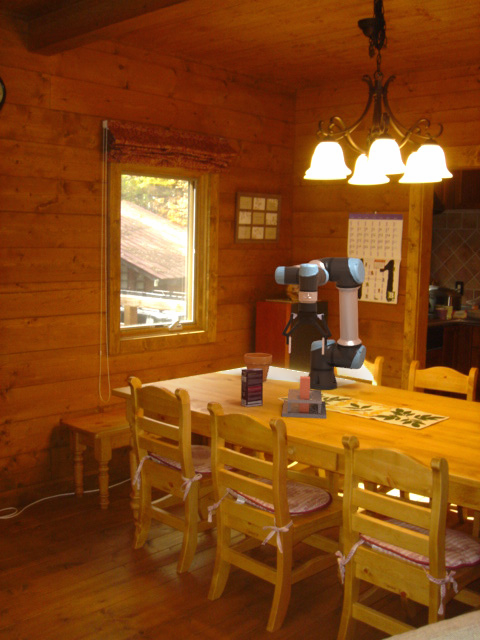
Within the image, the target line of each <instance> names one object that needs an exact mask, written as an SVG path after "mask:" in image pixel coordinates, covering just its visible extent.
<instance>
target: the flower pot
mask: <svg viewBox="0 0 480 640" xmlns="http://www.w3.org/2000/svg"><path fill="white" fill-rule="evenodd" d="M243 357H244V358H243V362H244V363H245V365H246V366H245V367H246V369H252V368H260V369H263V382H266V381H267V379H268V374H269V371H270V370H269V369H270V366H271V364H272V363H273V355H272V354H270V353H266V352H265V353H264V352H249V353H245V354H244V355H243Z"/></svg>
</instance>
